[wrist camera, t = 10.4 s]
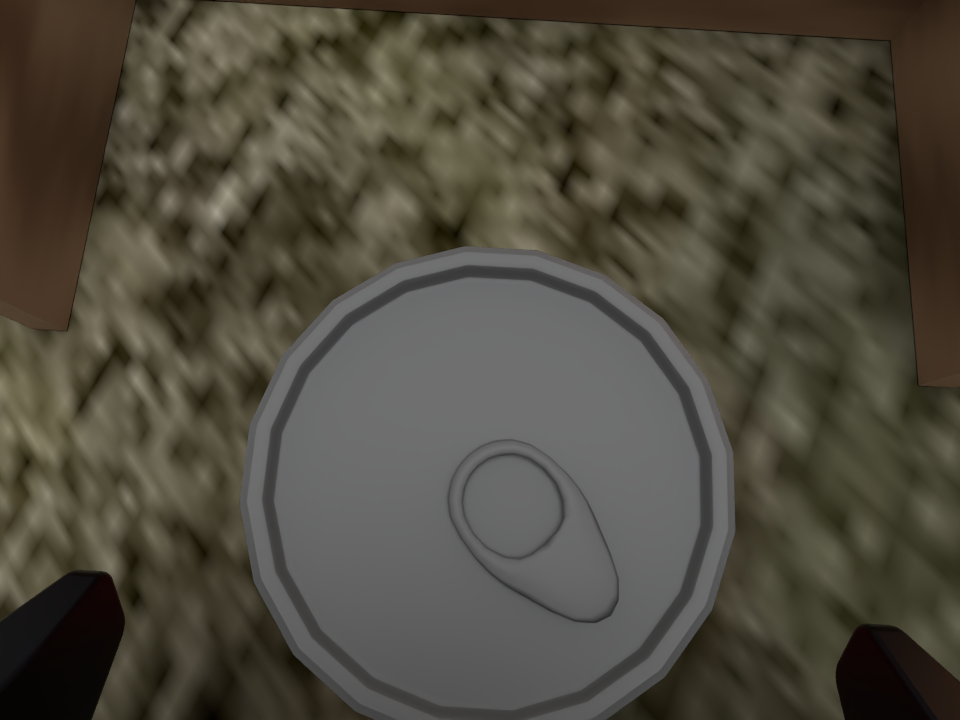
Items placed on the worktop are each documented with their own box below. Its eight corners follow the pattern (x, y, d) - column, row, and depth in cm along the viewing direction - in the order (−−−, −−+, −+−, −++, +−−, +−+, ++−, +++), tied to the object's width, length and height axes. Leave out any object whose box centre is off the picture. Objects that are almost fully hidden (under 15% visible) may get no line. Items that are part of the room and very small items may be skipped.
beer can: (471, 684, 18) (463, 971, 7) (314, 494, 19) (70, 452, 8) (647, 514, 19) (910, 501, 8) (490, 343, 20) (509, 103, 9)
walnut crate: (953, 387, 20) (1254, 303, 12) (33, 328, 20) (-241, 209, 13) (918, 10, 23) (1143, -250, 15) (113, -37, 23) (-69, -317, 16)
